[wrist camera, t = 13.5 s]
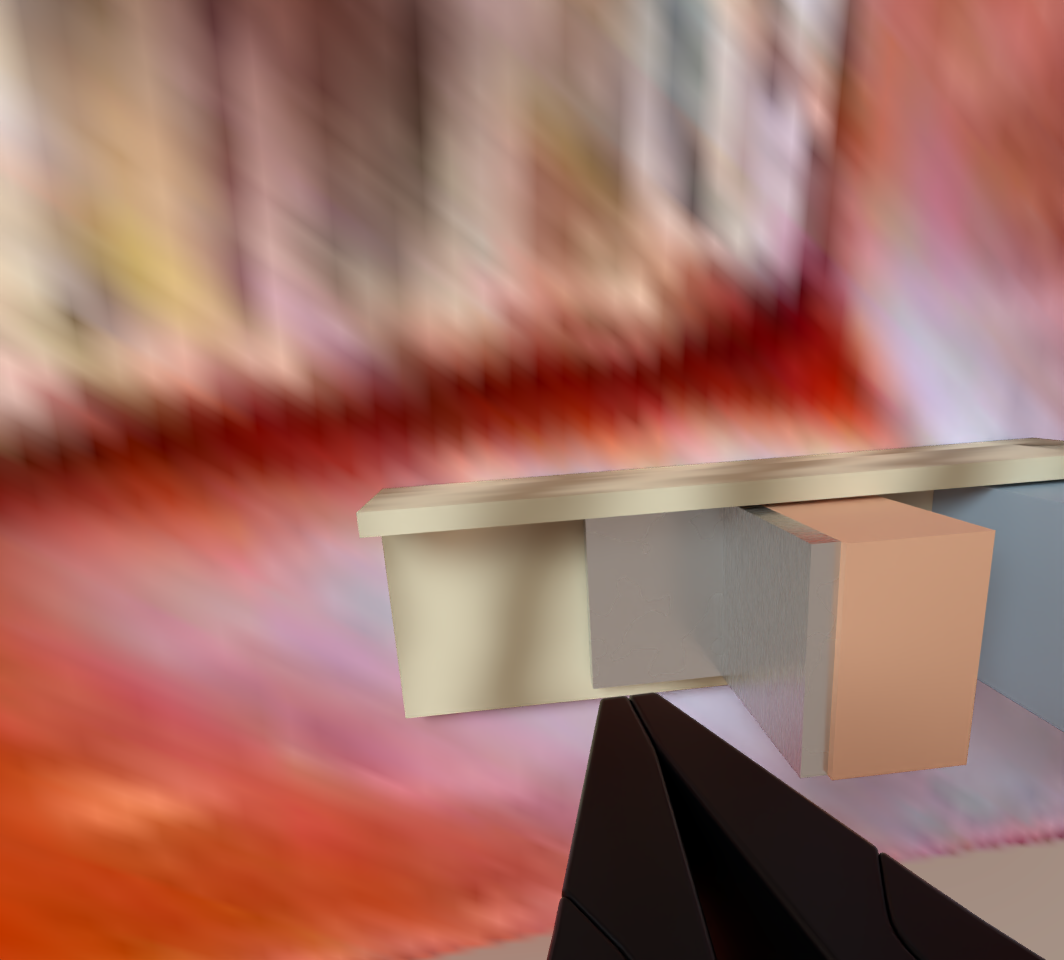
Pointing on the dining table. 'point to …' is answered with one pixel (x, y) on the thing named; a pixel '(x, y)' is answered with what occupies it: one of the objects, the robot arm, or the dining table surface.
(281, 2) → the dining table surface
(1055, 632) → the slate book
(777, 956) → the robot arm
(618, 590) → the bookend
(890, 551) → the terracotta book
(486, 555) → the beige piece
